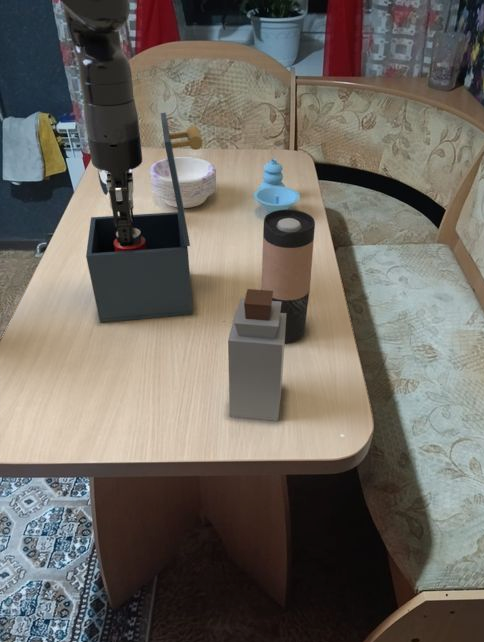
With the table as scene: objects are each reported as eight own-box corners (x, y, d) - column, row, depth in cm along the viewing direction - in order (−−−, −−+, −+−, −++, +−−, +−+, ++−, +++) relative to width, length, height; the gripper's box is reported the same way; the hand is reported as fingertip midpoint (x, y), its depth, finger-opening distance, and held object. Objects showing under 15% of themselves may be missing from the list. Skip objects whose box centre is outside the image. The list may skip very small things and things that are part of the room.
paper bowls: (222, 210, 126) (221, 177, 121) (156, 216, 123) (152, 182, 118) (211, 185, 137) (209, 153, 132) (150, 189, 134) (146, 157, 129)
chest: (100, 323, 91) (85, 256, 83) (103, 280, 102) (91, 217, 94) (192, 314, 94) (187, 248, 86) (186, 273, 104) (181, 211, 96)
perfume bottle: (236, 383, 81) (235, 280, 69) (281, 387, 80) (288, 284, 69) (229, 416, 75) (227, 310, 64) (278, 420, 75) (284, 315, 64)
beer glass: (107, 231, 117) (95, 162, 107) (106, 217, 122) (95, 150, 112) (140, 228, 118) (131, 160, 108) (138, 215, 123) (129, 148, 114)
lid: (164, 142, 75) (203, 136, 75) (160, 113, 85) (194, 108, 86) (185, 246, 85) (218, 241, 86) (179, 209, 96) (209, 204, 96)
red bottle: (116, 296, 96) (105, 235, 89) (134, 283, 100) (125, 223, 92) (140, 305, 94) (131, 243, 87) (157, 290, 98) (150, 230, 90)
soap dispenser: (301, 223, 122) (304, 184, 116) (255, 224, 121) (255, 185, 115) (291, 190, 136) (293, 154, 130) (249, 191, 135) (250, 154, 129)
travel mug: (296, 314, 95) (304, 206, 82) (312, 340, 89) (324, 228, 76) (254, 321, 93) (256, 212, 80) (268, 348, 87) (272, 235, 75)
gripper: (89, 117, 84) (105, 215, 94) (83, 149, 73) (102, 255, 84) (138, 116, 85) (149, 212, 96) (140, 147, 74) (151, 252, 85)
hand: (127, 232), depth 90 cm, fingers open, 8 cm apart
